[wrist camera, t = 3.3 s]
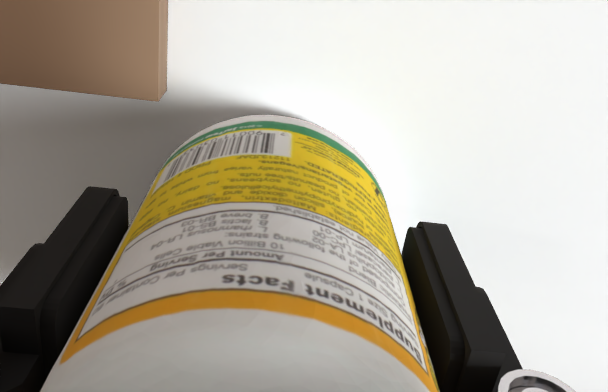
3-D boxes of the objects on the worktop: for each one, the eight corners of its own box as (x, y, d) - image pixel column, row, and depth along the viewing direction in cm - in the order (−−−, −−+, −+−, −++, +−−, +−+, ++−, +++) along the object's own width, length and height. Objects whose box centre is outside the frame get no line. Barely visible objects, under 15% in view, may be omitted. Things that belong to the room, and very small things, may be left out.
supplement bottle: (223, 58, 12) (-22, 531, 3) (435, 190, 13) (722, 788, 4) (110, 252, 14) (-237, 877, 5) (303, 348, 16) (306, 971, 6)
